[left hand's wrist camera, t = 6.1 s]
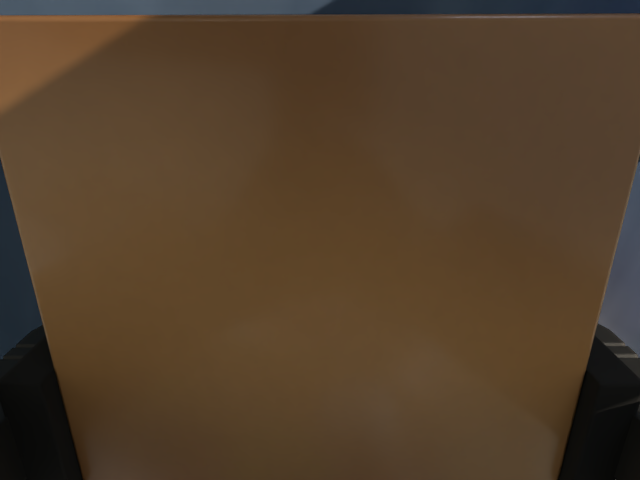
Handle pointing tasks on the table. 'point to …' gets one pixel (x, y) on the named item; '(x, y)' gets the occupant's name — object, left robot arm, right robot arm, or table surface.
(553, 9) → the table surface
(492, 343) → the thick board
